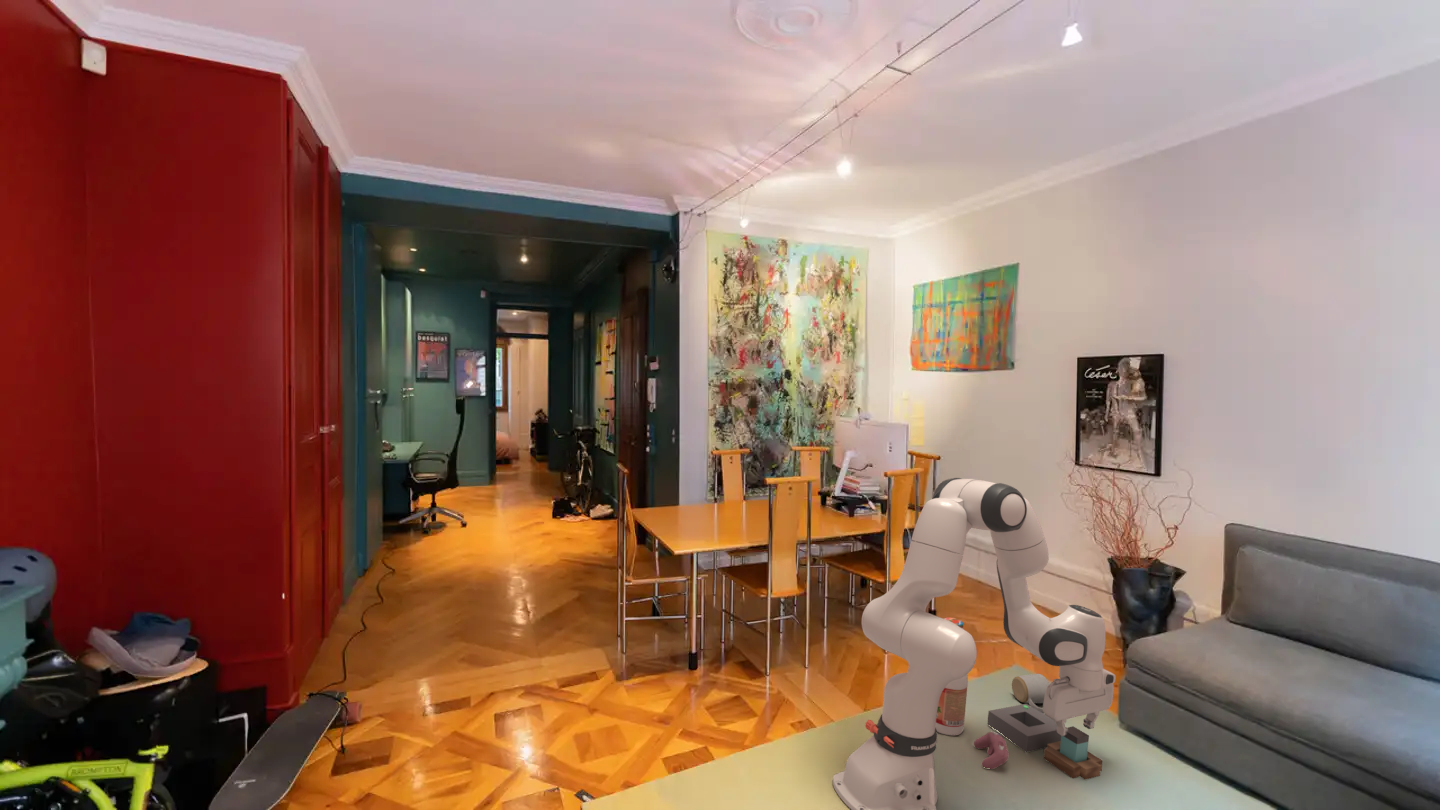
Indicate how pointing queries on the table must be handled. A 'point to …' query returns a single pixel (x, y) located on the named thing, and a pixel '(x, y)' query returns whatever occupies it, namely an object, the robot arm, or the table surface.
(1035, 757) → the table surface
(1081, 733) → the plug
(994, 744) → the video game controller
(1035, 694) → the ceramic mug
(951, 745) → the table surface
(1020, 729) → the port
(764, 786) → the table surface
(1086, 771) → the brown wooden square frame
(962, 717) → the fruit juice
